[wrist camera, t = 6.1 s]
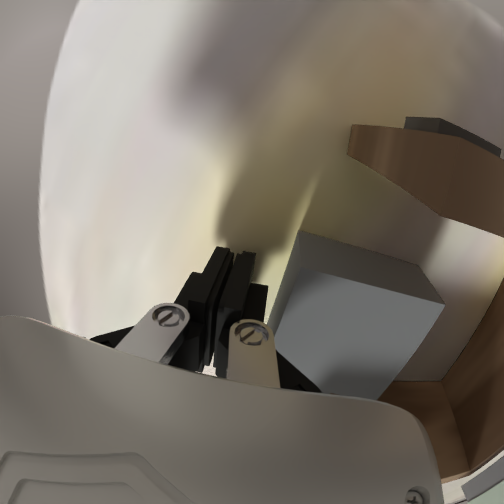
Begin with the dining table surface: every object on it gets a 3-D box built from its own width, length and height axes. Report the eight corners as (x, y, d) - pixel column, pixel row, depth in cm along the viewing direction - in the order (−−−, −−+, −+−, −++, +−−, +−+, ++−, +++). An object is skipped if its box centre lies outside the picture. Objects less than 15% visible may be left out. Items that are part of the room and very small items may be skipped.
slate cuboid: (415, 262, 12) (445, 304, 9) (350, 374, 16) (356, 421, 12) (298, 227, 12) (300, 266, 9) (254, 356, 16) (246, 405, 13)
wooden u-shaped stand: (543, 199, 9) (632, 261, 2) (442, 393, 16) (467, 477, 9) (353, 117, 9) (463, 117, 3) (281, 386, 16) (270, 498, 9)
